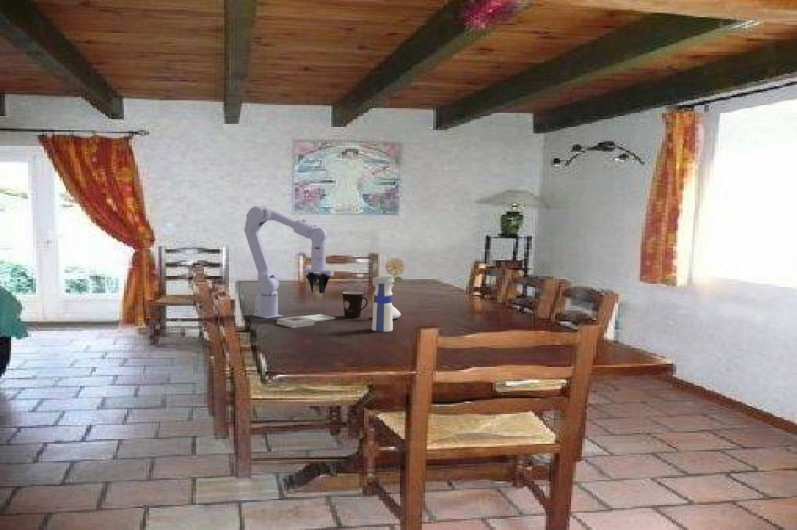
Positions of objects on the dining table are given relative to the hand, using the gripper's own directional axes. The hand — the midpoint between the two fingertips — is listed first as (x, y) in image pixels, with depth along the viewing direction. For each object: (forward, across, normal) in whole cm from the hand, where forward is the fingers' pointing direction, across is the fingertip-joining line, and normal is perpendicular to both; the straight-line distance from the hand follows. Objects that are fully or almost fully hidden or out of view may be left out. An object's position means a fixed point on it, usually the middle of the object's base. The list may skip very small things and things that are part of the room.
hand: (317, 292), depth 255 cm
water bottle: (+11, +33, -2) cm, 35 cm away
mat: (+10, 0, 0) cm, 10 cm away
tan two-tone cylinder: (+3, 0, 0) cm, 3 cm away
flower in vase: (+11, +21, +20) cm, 31 cm away
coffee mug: (+11, +9, +12) cm, 18 cm away
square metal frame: (+10, +3, -16) cm, 19 cm away
